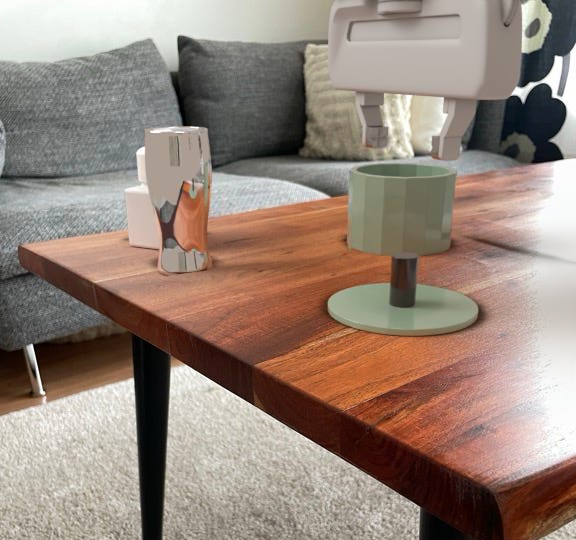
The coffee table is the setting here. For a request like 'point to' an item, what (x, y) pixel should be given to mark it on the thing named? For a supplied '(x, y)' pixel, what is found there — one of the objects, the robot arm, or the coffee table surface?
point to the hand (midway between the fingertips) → (407, 153)
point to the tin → (400, 208)
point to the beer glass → (180, 195)
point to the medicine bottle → (141, 210)
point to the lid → (403, 304)
